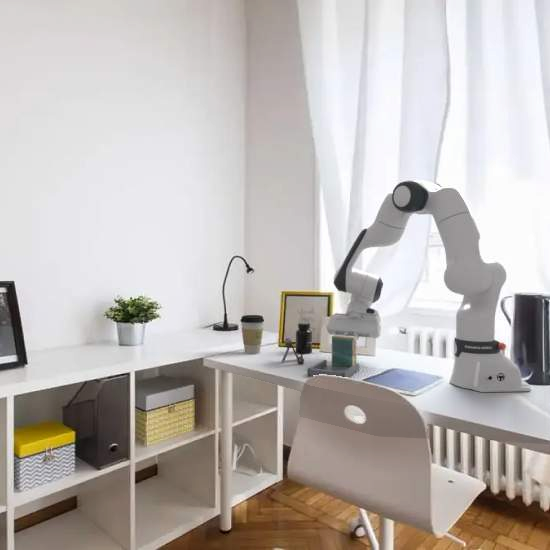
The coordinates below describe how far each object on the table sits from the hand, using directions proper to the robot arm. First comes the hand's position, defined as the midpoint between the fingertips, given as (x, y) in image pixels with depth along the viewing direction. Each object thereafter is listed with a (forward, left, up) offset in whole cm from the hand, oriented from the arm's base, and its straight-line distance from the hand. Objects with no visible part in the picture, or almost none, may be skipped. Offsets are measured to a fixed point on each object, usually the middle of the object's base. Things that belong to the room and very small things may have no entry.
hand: (349, 344), depth 179 cm
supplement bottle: (+18, -19, -8) cm, 27 cm away
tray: (+5, +15, -7) cm, 17 cm away
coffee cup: (+39, -16, -8) cm, 43 cm away
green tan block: (+2, +5, -7) cm, 9 cm away
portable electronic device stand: (+21, -1, -8) cm, 22 cm away
